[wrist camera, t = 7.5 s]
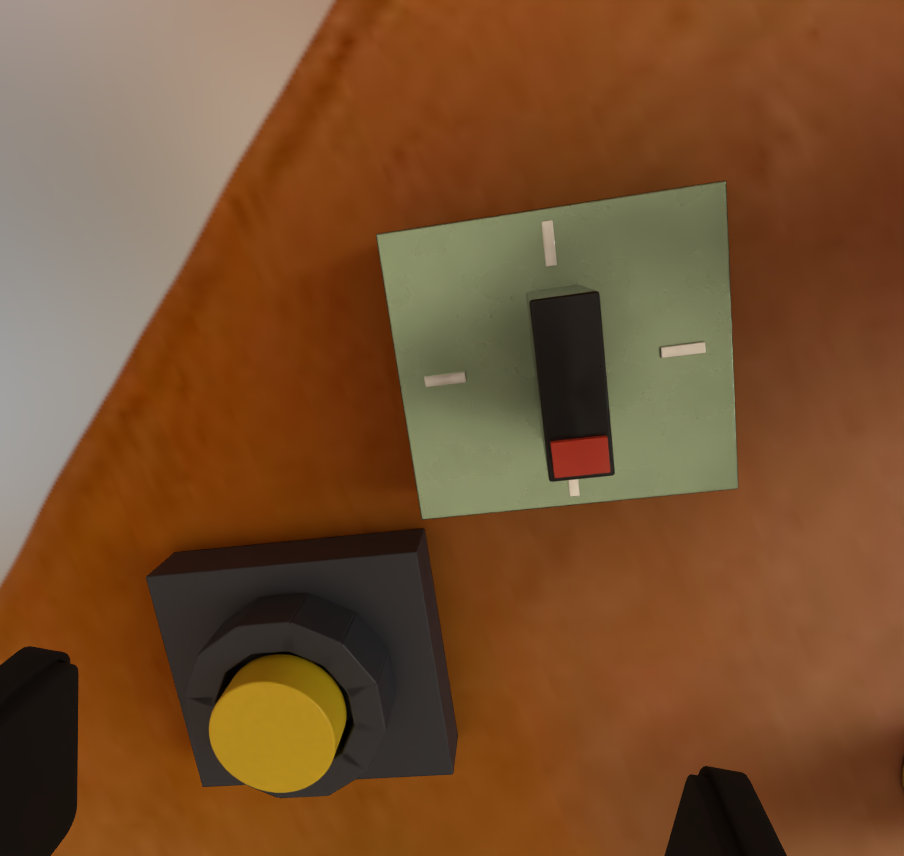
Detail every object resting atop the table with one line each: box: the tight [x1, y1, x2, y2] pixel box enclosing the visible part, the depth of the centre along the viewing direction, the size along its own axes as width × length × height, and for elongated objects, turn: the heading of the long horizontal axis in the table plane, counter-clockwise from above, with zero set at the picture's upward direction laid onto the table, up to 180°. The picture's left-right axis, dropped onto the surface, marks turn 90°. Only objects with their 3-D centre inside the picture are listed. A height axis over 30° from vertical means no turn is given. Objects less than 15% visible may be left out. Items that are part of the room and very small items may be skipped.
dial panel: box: [376, 181, 738, 520], centre depth 23 cm, size 11×10×3 cm
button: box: [209, 654, 347, 793], centre depth 24 cm, size 5×5×2 cm
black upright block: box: [526, 285, 615, 482], centre depth 19 cm, size 5×2×5 cm, turn 8°
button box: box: [146, 529, 458, 798], centre depth 27 cm, size 11×10×4 cm
